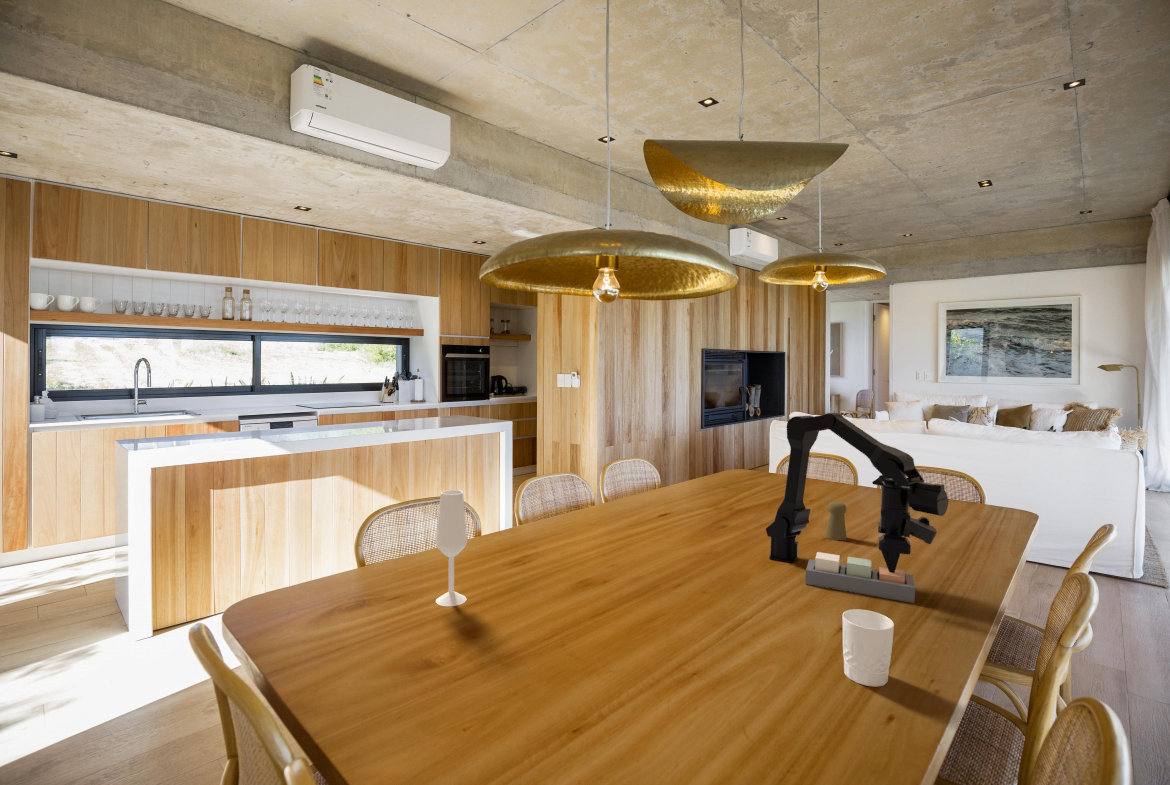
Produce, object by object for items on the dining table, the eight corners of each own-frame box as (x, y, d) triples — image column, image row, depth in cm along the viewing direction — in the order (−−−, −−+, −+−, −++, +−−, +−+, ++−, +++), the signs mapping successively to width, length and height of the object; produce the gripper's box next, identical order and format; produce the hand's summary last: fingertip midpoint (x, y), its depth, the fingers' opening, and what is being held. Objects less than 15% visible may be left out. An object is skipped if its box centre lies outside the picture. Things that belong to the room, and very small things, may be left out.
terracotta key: (878, 590, 134) (879, 573, 134) (878, 583, 139) (879, 566, 139) (904, 594, 132) (905, 577, 132) (903, 587, 137) (904, 570, 136)
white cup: (831, 664, 102) (833, 609, 101) (873, 663, 103) (876, 608, 102) (856, 690, 94) (858, 630, 94) (901, 688, 95) (904, 629, 94)
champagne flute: (439, 608, 122) (440, 496, 121) (432, 597, 128) (432, 490, 127) (470, 603, 125) (471, 494, 124) (462, 592, 131) (462, 487, 130)
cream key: (814, 574, 140) (815, 558, 140) (816, 567, 145) (817, 551, 145) (837, 578, 138) (838, 561, 138) (839, 571, 143) (839, 555, 143)
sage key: (846, 579, 137) (846, 562, 137) (847, 572, 142) (847, 556, 142) (870, 583, 135) (871, 566, 135) (870, 576, 140) (871, 560, 139)
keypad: (805, 584, 140) (805, 569, 139) (808, 572, 148) (809, 559, 148) (914, 603, 129) (914, 587, 129) (911, 589, 137) (912, 575, 137)
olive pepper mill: (848, 541, 175) (850, 505, 174) (827, 540, 176) (829, 504, 175) (844, 535, 181) (845, 501, 180) (823, 534, 182) (825, 499, 181)
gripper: (939, 520, 123) (935, 592, 123) (931, 502, 139) (928, 565, 140) (880, 513, 128) (877, 582, 128) (879, 496, 144) (876, 558, 145)
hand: (891, 572), depth 135 cm, fingers closed, pressing on terracotta key
